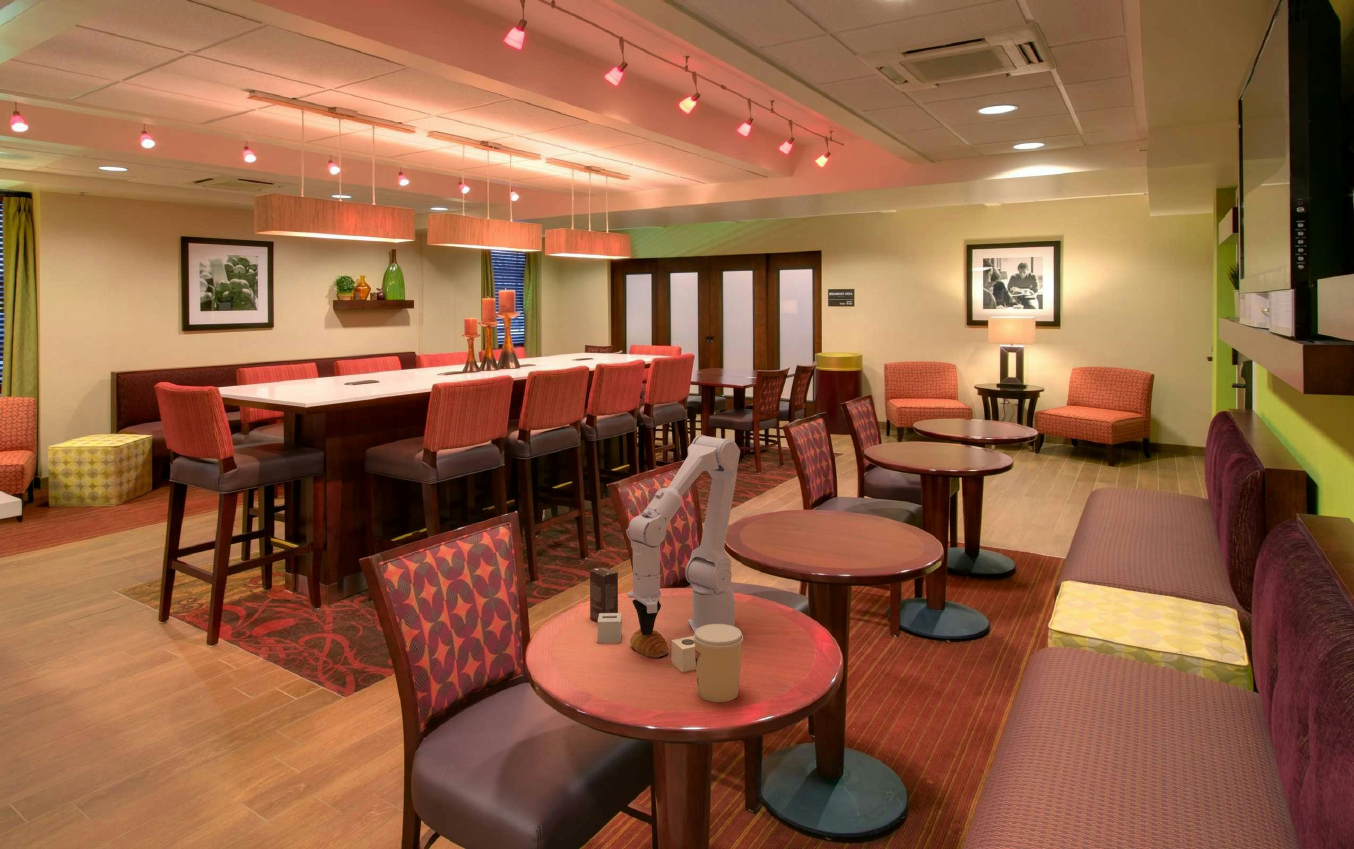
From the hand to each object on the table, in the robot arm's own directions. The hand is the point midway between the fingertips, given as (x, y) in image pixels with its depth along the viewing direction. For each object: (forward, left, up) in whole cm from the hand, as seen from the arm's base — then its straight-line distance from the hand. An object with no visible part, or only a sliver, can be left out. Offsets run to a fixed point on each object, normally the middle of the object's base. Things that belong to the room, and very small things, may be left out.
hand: (646, 633), depth 171 cm
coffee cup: (-10, +22, -4) cm, 24 cm away
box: (+7, -19, -4) cm, 21 cm away
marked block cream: (-7, +9, -4) cm, 12 cm away
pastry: (-1, -1, -4) cm, 4 cm away
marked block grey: (+7, -8, -4) cm, 11 cm away
